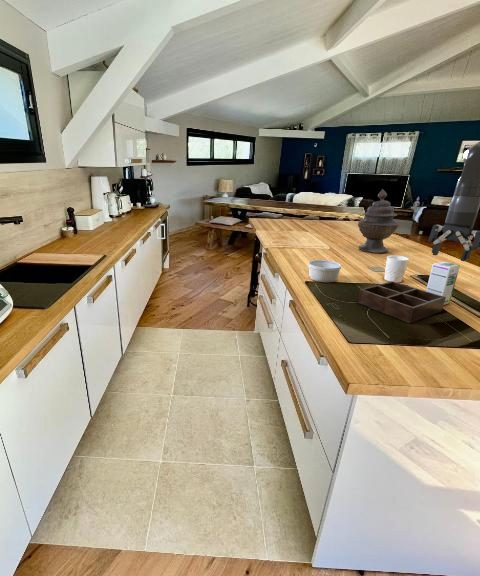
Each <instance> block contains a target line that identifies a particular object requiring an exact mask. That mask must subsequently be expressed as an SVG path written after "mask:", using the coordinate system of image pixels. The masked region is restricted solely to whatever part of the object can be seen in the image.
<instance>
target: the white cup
mask: <svg viewBox="0 0 480 576" xmlns="http://www.w3.org/2000/svg"><path fill="white" fill-rule="evenodd" d="M409 261H410V258H409V257H406V256H403V255H395V254H394V255H387V256H386V262H385V268H384V276H383V279H384V281H387V282H390V281H393V282H397V283H401V282H403V279H404V277H405V274H406V271H407V267H408V264H409Z"/></svg>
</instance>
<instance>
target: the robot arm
mask: <svg viewBox="0 0 480 576" xmlns="http://www.w3.org/2000/svg"><path fill="white" fill-rule="evenodd" d="M462 160H463V163H464V164H463V168H462V172H461V175H460V177H459V179H457V180H458V181H457V183H456V186H455V189H454V192H453V196H452V199H451V201H450V203H449V206H448V210H447V214H446V217H445V220H444V225H441V224H434V225H432V228H431V230H430V234H429V237H428V239H427V241H428V242H429V243H431V244H432V248H431V254H432V256H438V255H439V252H440V249H441V246H442V245H441V243H443V242H445V241H454V242H460V244H461V245H462V246H463V248H464V250H463V251H462V254H461V258H460V262H466V261H468V260H469V259H470V257H471V254H472V251H476V250H479V249H480V230H474V226H475V223H476V220H477V217H478V214H479V210H480V141H478V142H476V143H475V144H473V145H471V146H469V147H468V148H467V150H466V151H465V152H464V154H463V157H462ZM439 232H442V235H440V236H439V237H438V234H439ZM471 235H472V237H473V243H472V241H471V238H470V236H471Z"/></svg>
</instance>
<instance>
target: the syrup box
mask: <svg viewBox="0 0 480 576" xmlns="http://www.w3.org/2000/svg"><path fill="white" fill-rule="evenodd" d="M460 268H461V265H460V264H457V263H453V262H449V261H439V262H436V263H432V266H431V270H430V274H429V278H428V282H427V286H426V289H425V291H427V292H430V293H434V294H437V295H440V296H444V297H446V298H445V302H444V305H443V306H445V305H447V304H448V305H449V304H450V303H451V299H452V296H453V292H454V288H455V285H456V282H457V278H458V275H459V271H460Z"/></svg>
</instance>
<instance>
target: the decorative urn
mask: <svg viewBox="0 0 480 576" xmlns="http://www.w3.org/2000/svg"><path fill="white" fill-rule="evenodd" d="M387 196H388V194H387V192H386V191H385V190H384V189H383V188H381V190H380V191H379V193H378V194H377V198H378V199H380V200H377V201H373V202H372V206H370V205H369V206H368V207H367V210H366V212H364V213H363V214H362V215H363V216H364V219H360V220H358V222H357V227H358V229H359V232H360V233H361V234H362V236H363V237H364V238H366V240H365V242H364V244H360V245H358V249H359V250H360V251H362V252H367V253H372V254H382V253H386V252H388V251H390V249H389V248H388V247H386V246H384V240H386V239H388V238H390V237H391V236H392V235H393V234H394V233H396V230H397V229H398V227H399V225H400V224H399V222H397V221H396V220H394V218H395V217H396V216H398V214H396V213H395V208H394V207H393V206H391V202H390V201H388V200H385V198H387Z"/></svg>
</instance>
